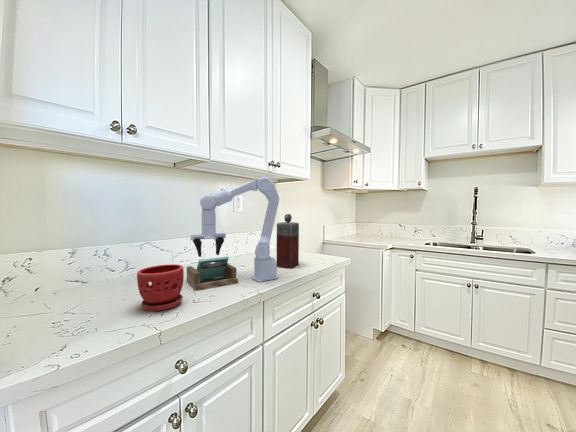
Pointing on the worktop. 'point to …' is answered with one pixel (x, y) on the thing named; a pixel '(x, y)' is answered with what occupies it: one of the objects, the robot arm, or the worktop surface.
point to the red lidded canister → (287, 243)
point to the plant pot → (160, 286)
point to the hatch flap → (212, 267)
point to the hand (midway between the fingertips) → (208, 255)
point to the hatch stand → (229, 276)
